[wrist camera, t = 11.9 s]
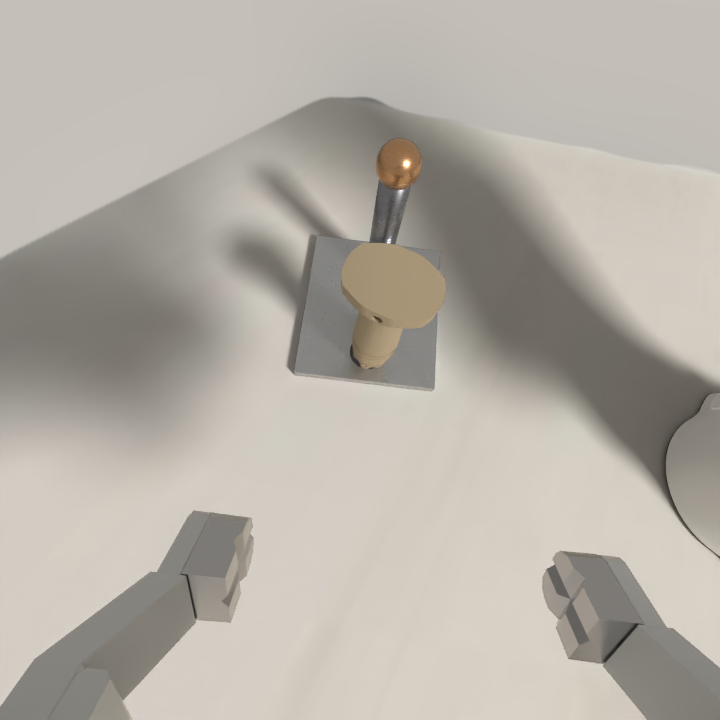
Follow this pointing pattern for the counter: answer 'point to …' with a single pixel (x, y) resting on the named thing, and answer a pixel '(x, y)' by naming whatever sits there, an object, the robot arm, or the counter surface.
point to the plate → (336, 324)
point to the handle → (388, 297)
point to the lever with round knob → (393, 187)
